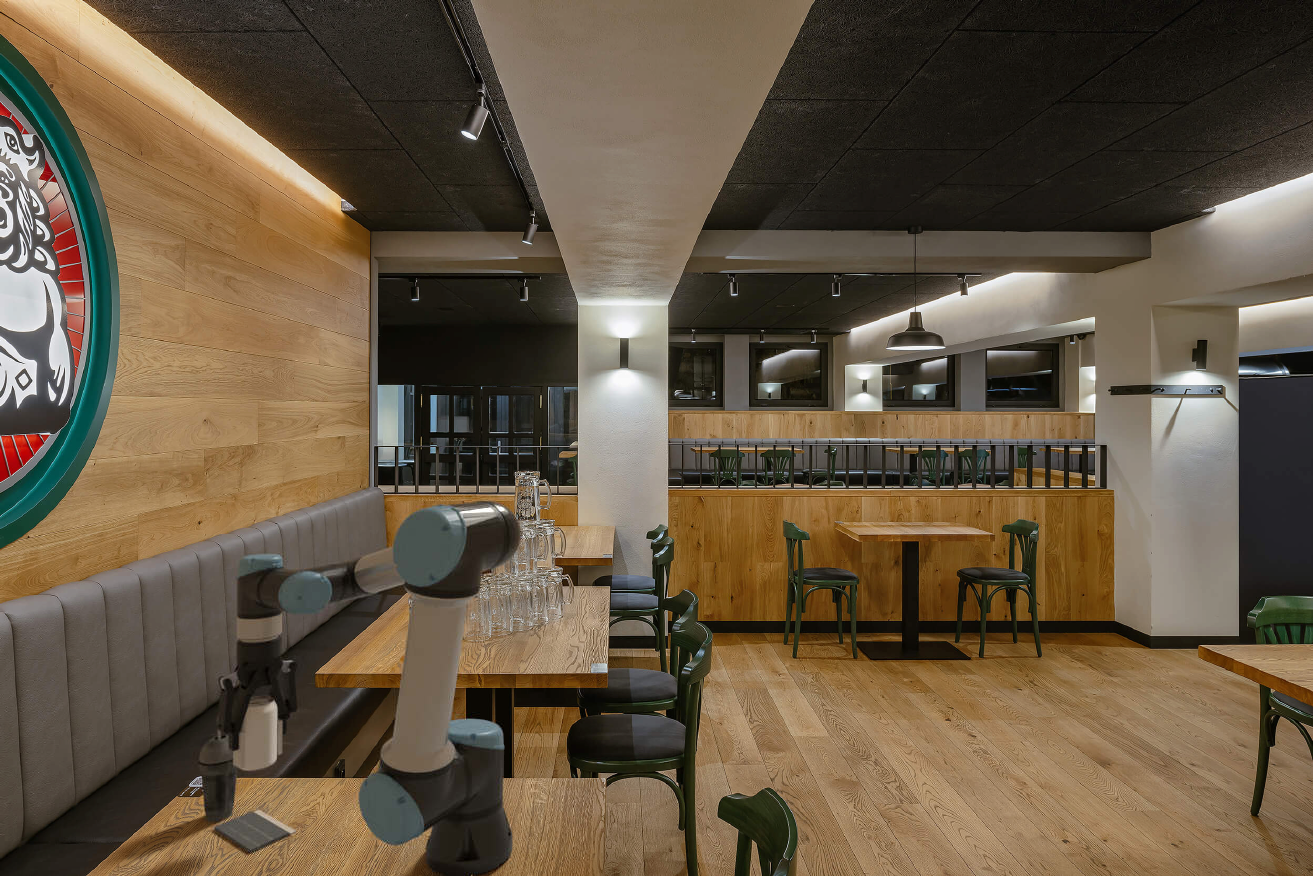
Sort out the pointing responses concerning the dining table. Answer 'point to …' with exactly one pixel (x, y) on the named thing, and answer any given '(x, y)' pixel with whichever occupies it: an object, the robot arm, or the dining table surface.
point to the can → (260, 733)
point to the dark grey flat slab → (254, 830)
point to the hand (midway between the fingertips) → (258, 759)
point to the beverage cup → (218, 778)
